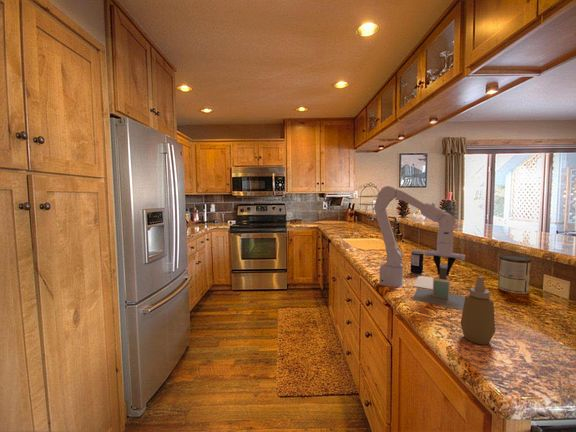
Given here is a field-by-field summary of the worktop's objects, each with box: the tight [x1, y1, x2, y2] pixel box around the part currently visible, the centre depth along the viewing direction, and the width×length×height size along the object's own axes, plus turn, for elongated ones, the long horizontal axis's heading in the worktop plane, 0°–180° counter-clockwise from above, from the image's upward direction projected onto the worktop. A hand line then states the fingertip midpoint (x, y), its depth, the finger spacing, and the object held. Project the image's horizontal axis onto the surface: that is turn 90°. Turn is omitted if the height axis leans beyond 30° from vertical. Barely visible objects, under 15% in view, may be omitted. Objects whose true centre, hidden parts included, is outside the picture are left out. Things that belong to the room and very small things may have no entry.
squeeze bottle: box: [460, 276, 496, 345], centre depth 77 cm, size 8×8×18 cm
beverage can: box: [410, 249, 425, 276], centre depth 140 cm, size 6×6×12 cm
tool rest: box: [412, 275, 435, 291], centre depth 124 cm, size 8×17×1 cm, turn 147°
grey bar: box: [438, 262, 448, 280], centre depth 114 cm, size 5×15×6 cm, turn 147°
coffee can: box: [497, 254, 532, 295], centre depth 117 cm, size 10×10×14 cm
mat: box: [411, 287, 465, 311], centre depth 106 cm, size 19×15×1 cm
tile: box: [432, 277, 451, 299], centre depth 107 cm, size 6×2×7 cm, turn 57°
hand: (443, 274), depth 115 cm, fingers closed on grey bar, 2 cm apart
